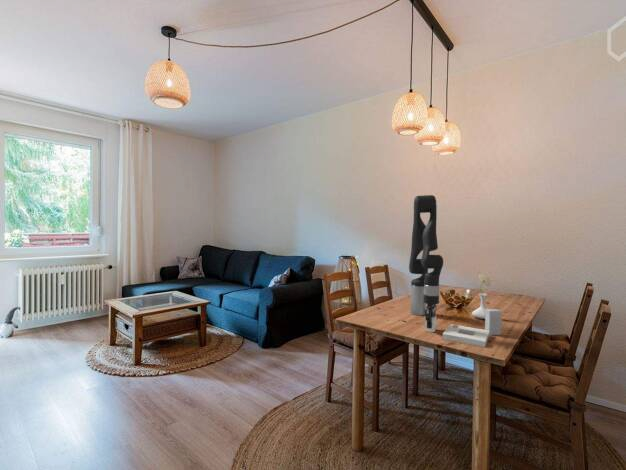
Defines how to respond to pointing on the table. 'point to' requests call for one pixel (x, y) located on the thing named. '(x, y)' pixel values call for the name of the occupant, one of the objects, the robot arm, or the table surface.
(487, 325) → the skincare box
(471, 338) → the socket plate
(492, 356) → the table surface
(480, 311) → the flower in vase
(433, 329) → the plug
